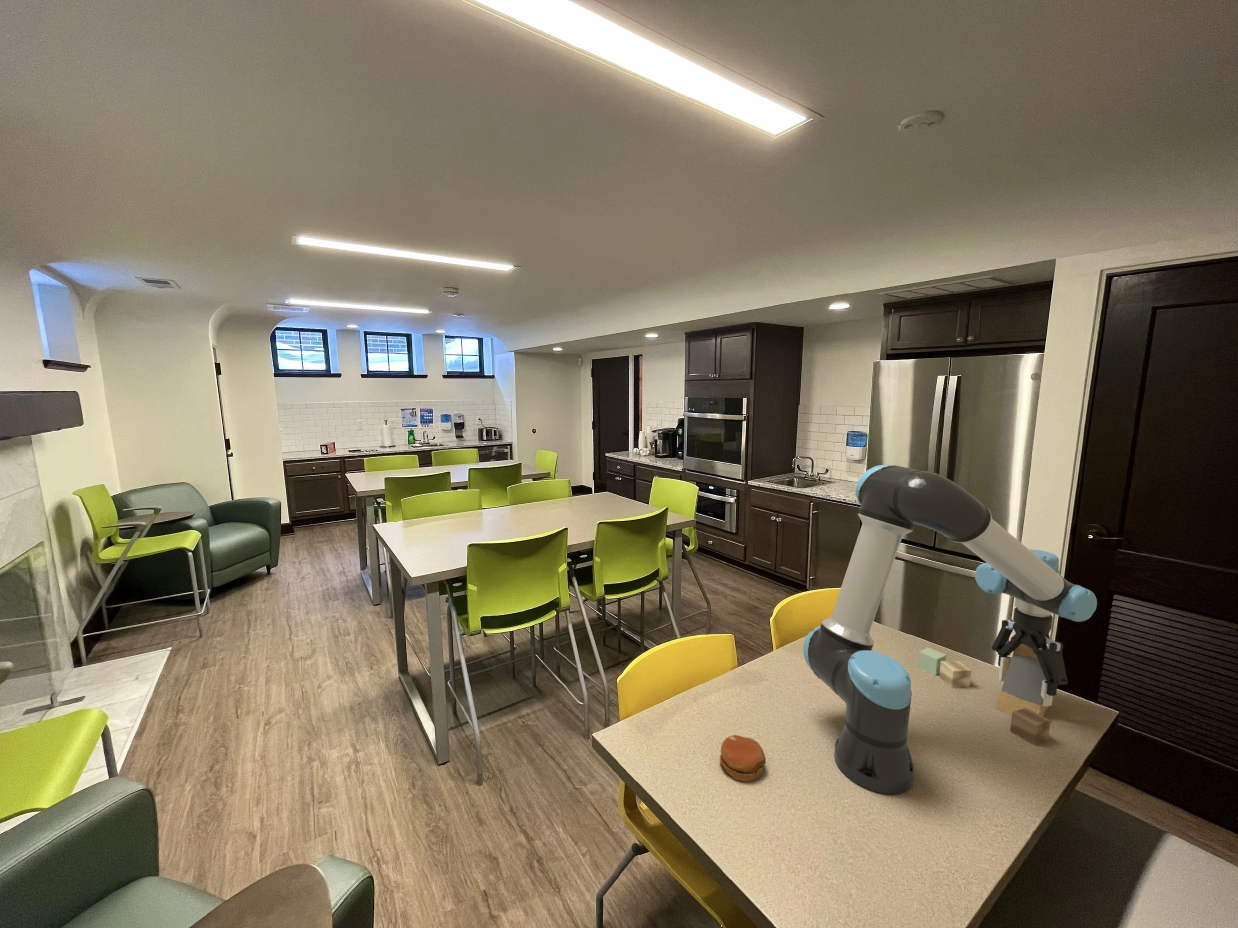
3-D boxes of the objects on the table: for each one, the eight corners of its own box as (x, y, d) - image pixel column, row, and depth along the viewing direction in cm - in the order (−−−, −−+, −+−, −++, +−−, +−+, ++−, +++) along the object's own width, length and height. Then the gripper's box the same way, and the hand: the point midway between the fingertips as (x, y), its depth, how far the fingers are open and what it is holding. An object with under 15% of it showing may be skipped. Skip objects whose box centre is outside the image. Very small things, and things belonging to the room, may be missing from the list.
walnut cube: (1033, 745, 111) (1036, 725, 110) (1010, 731, 115) (1012, 711, 115) (1048, 740, 112) (1050, 720, 112) (1024, 726, 117) (1026, 707, 116)
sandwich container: (993, 708, 124) (999, 653, 122) (1011, 687, 133) (1016, 635, 131) (1036, 726, 117) (1043, 668, 115) (1052, 702, 127) (1058, 648, 125)
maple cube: (951, 687, 133) (953, 670, 132) (939, 677, 138) (940, 660, 137) (969, 687, 133) (971, 670, 133) (956, 677, 138) (958, 660, 138)
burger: (750, 790, 98) (750, 768, 97) (711, 766, 104) (711, 746, 104) (773, 764, 105) (774, 744, 104) (735, 743, 111) (735, 724, 111)
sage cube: (935, 675, 139) (936, 659, 138) (917, 667, 143) (918, 651, 143) (944, 670, 141) (946, 654, 141) (927, 662, 146) (928, 647, 145)
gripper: (1096, 630, 113) (1084, 718, 116) (1003, 592, 135) (995, 667, 138) (1069, 633, 112) (1057, 721, 114) (980, 594, 134) (972, 669, 137)
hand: (1023, 691), depth 126 cm, fingers open, 10 cm apart
